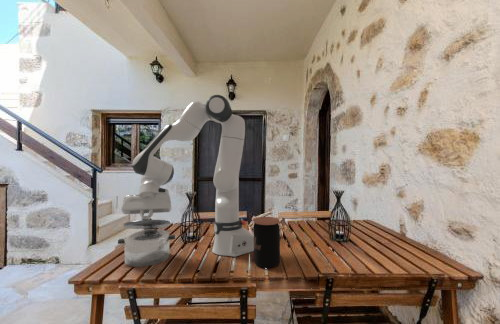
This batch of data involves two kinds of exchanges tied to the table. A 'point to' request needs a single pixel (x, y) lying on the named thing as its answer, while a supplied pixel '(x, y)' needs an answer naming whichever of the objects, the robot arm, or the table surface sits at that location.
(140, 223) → the lid
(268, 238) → the coffee jar
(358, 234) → the table surface
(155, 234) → the pot
